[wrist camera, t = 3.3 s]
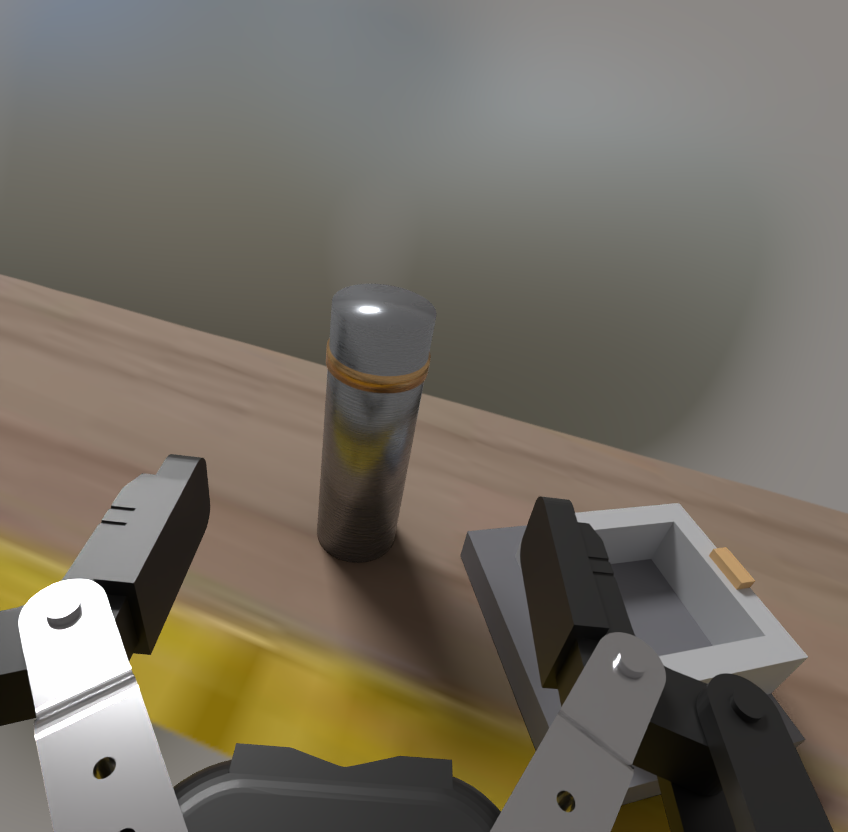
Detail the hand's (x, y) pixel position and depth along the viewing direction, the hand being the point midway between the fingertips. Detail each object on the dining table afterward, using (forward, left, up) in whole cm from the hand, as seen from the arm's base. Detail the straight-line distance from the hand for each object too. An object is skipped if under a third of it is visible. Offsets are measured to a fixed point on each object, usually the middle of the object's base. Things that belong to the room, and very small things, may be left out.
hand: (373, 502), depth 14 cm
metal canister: (+3, +12, -14) cm, 19 cm away
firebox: (+14, +3, -14) cm, 20 cm away
